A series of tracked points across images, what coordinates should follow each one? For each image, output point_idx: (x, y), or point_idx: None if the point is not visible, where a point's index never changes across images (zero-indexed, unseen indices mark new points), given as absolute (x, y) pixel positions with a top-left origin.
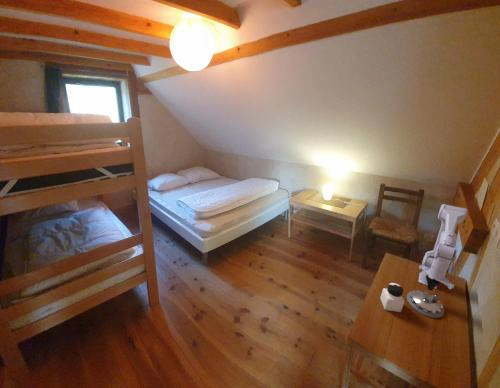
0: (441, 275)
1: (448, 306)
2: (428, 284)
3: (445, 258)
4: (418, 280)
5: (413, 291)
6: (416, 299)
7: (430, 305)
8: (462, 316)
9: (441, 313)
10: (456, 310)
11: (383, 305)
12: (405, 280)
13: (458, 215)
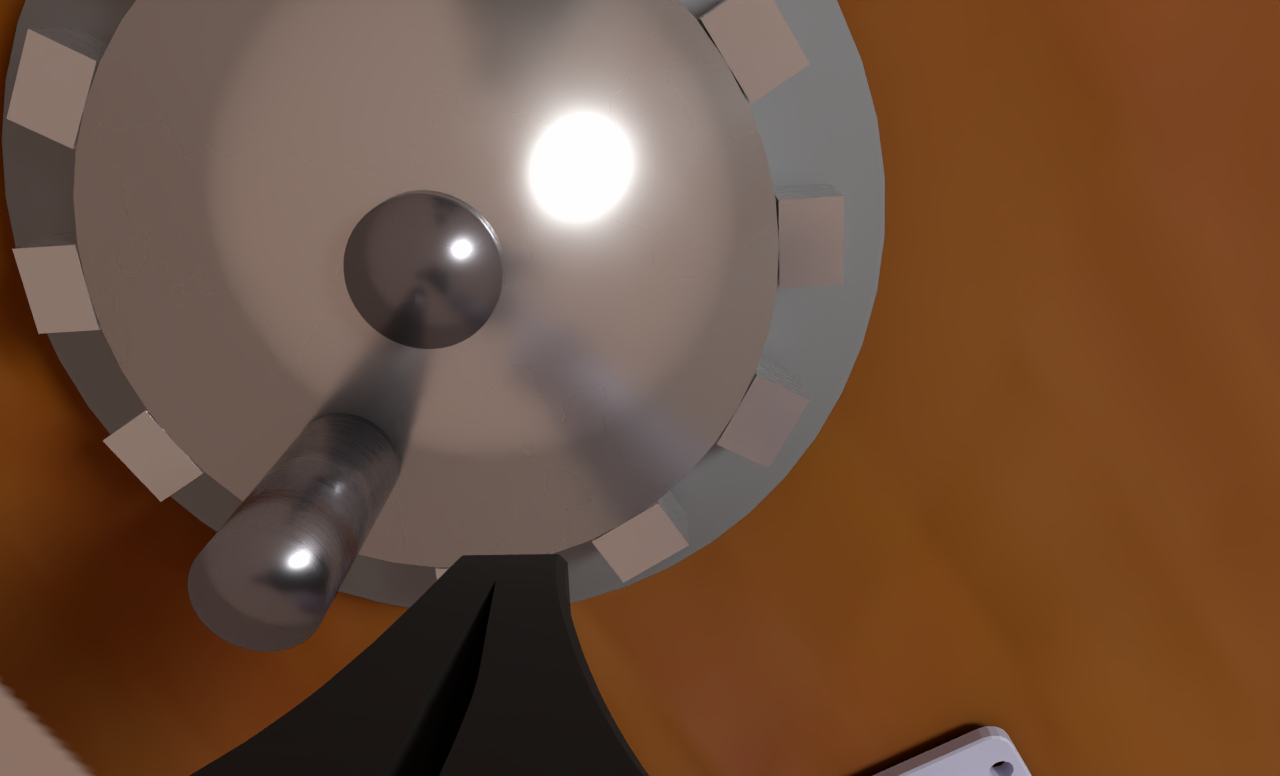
0: None
1: (271, 669)
2: (528, 668)
3: None
4: (1022, 762)
5: (816, 240)
6: (552, 17)
7: (248, 213)
8: (8, 675)
9: None
10: (154, 710)
11: None
12: (1193, 510)
13: None
